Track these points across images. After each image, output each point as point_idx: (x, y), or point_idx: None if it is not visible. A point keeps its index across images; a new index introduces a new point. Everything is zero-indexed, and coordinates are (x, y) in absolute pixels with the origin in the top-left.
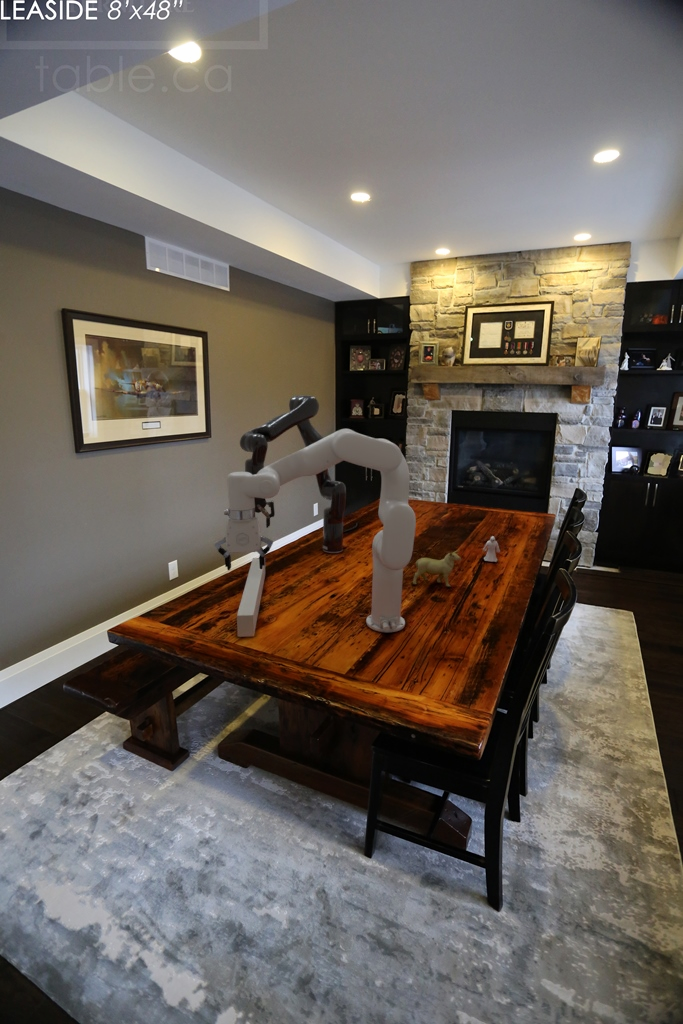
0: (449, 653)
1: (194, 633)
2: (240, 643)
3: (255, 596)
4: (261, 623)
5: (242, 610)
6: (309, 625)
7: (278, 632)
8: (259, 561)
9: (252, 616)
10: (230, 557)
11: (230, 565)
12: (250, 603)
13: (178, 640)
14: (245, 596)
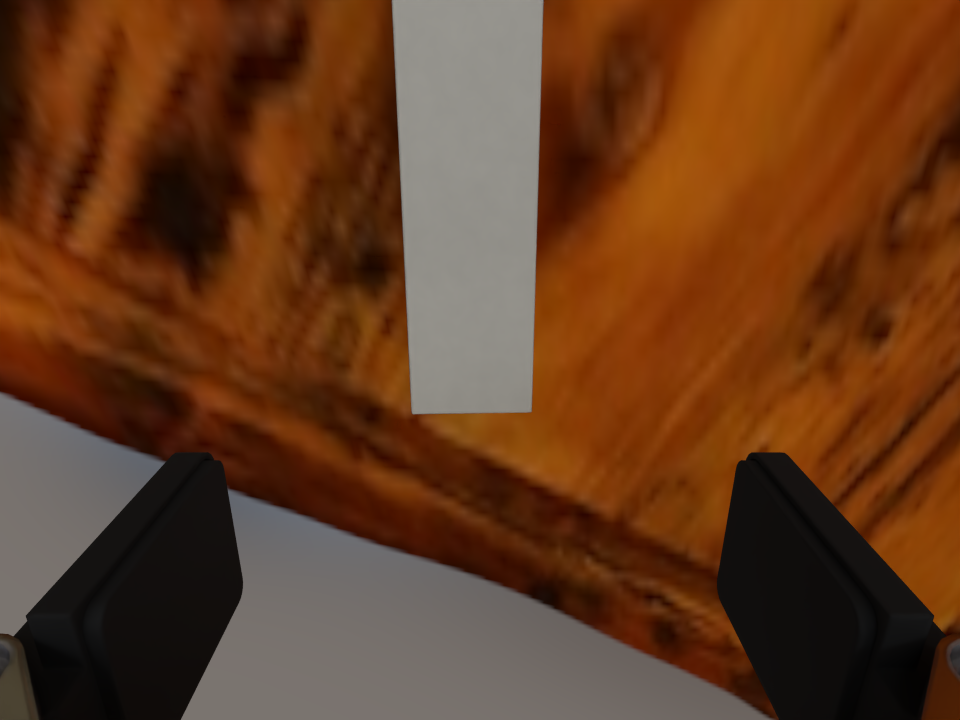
0: None
1: (146, 301)
2: (449, 422)
3: (526, 29)
4: (556, 175)
5: (441, 333)
6: (873, 218)
7: (664, 305)
8: (774, 702)
9: (524, 408)
10: (130, 598)
11: (212, 549)
12: (491, 197)
13: (86, 381)
14: (426, 23)
